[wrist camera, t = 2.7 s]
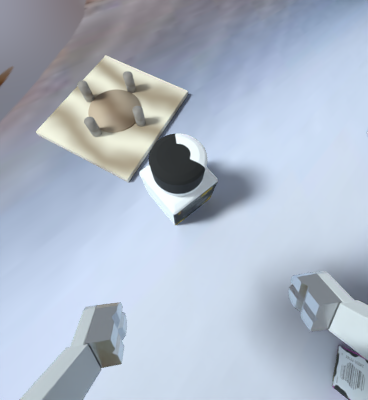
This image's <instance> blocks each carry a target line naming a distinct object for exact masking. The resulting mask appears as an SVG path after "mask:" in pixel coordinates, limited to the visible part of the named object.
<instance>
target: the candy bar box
mask: <svg viewBox="0 0 368 400" xmlns="http://www.w3.org/2000/svg"><path fill="white" fill-rule="evenodd" d="M332 387H333V388H335V389H336V390H337V391H338V392H340V393H341V394H342V395H343V396H345V397H346V398H347V399H348V400H368V360H367V359H365V358H364V357H363V356H361V355H360V354H358V353H355V352H353V351H351V350H349V349H347V348H344V347H342V346H340V345H339V346H338V351H337V359H336V365H335V370H334V375H333V383H332Z"/></svg>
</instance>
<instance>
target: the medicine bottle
mask: <svg viewBox="0 0 368 400" xmlns="http://www.w3.org/2000/svg"><path fill="white" fill-rule="evenodd" d="M206 166H207V153H206V150H205V148H204V147H203V145H202V144H201V143H200V142H199V141H198V140H197V139H195V138H194V137H191V136H189V135H186V134H170V135H167V136H165V137H163V138H161V139H160V140H158V141H157V142H156V143H155V144H154V146H153V147H152V149H151V151H150V154H149V165H148V166H147V167H145V168H144V169H142V170H141V171H140V176H141V178H142V180H143V183H144V185H145V187H146V189H147V191H148V193H149V194H150V196H151V197H152V198H153V199H154V201H155V202H156V203H157V204H158V205H159V207H160V208H161V209H162V210H163V212H164V213H165V214H166V215H167V216H168V218H169V219H170V220H171V221H172V223H173V224H174V225H177V224H179V223H180V222H181V221H182V220H184V219H185V218H186V217H187V216H189V215H190V214H191V213H192V212H194V211H195V210H196V209H197V208H199V207H200V206H201V205H202V204H204V203H205V202H206V201H207V200H209V199H210V197H211V195H212V193H213V191H214V188H215V186H216V184H217V181H218V179H217V177H216V176H215V175H214V174H213V173H212V172H211V171H210V170H209V169H208V168H207V167H206Z"/></svg>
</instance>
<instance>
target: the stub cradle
mask: <svg viewBox="0 0 368 400" xmlns="http://www.w3.org/2000/svg"><path fill="white" fill-rule="evenodd" d="M187 96H188V91H187V90H184V89H182V88H180V87H177V86H175V85H173V84H170V83H168V82H166V81H163V80H161V79H159V78H156V77H154V76H152V75H149V74H147V73H145V72H143V71H140V70H138V69H136V68H133V67H131V66H129V65H126V64H124V63H122V62H119V61H117V60H115V59H112V58H110V57H108V56H105V57H104V58H103V59H102V60H101V61H100V62H99V63H98V64H97V66H96V67H95V68H94V69H93V70H92V71H91V72H90V73H89V74H88V75H87V76H86V78H85V79H84V80H83V81H80V82H78V84H77V87H76V88H75V90H74V91H73V92H72V93H71V94H70V95H69V96H68V97H67V98H66V99H65V100H64V102H63V103H62V104H61V105H60V106H59V107H58V108H57V109H56V110H55V111H54V112H53V114H52V115H51V116H50V117H49V118H48V119H47V120H46V121H45V122H44V123H43V124H42V126H41V127H40V128H39V129H38V130H37V131H36V133H37V134H38V135H39V136H41V137H43V138H45V139H47V140H49V141H50V142H52V143H54V144H56V145H58V146H60V147H62V148H64V149H66V150H68V151H70V152H71V153H73V154H75V155H77V156H79V157H81V158H83V159H85V160H87V161H89V162H91V163H92V164H94V165H96V166H98V167H100V168H102V169H104V170H106V171H108V172H110V173H112V174H114V175H115V176H117V177H119V178H121V179H123V180H125V181H127V182H129V181H130V180H131V178H132V177H133V175H134V174H135V172H136V171H137V169H138V168H139V166H140V165H141V163H142V162H143V161H144V159H145V158H146V156H147V155H148V153H149V152H150V150H151V149H152V147H153V146H154V144H155V143H156V141H157V140H158V138H159V137H160V135H161V134H162V132H163V131H164V130H165V128H166V127H167V125H168V124H169V122H170V121H171V119H172V118H173V116H174V115H175V113H176V112H177V110H178V109H179V107H180V106H181V104H182V103H183V101H184V100H185V98H186V97H187Z"/></svg>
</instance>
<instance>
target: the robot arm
mask: <svg viewBox="0 0 368 400" xmlns="http://www.w3.org/2000/svg"><path fill="white" fill-rule="evenodd" d="M367 135H368V132H367ZM291 282H292V285H291V286H290V287H289V291H288V294H289V298H290V301H291V303H292V305H293V306H294V308H295V309H297V310H298V311H300V312H301V319H302V320H303V322H304V323H305V325H306V326H307V328H308V329H309V331H310V332H313V331H321V330H328V329H329V331H330V332H331V333H333V334H334V335H335V336H337V337H338V338H339V339H340V340H342V341H343V342H344V343H346V344H347V345H348V346H350V347H351V348H352V349H354V350H355V351H356V352H357V353H359V354H360V355H361V356H363V357H364V358H365V359H367V360H368V305H367V304H365V303H363V302H361V301H359V300H354V299H353V298H352V297H351V296H350V295H349V294H348V293H347V292H346V291H345V290H344V289H343V288H342V287H341V286H340V285H339V284H338V283H337V282H336V281H335V280H334V279H333V278H332V277H331V276H330V275H329V274H328V273H327V272H326V271H318V272H310V273H304V274H299V275H293V276H292V277H291ZM122 308H123V306H122V304H121V302H119V303H111V304H103V305H95V306H88V307H86V308H85V309H84V311H83V313H82V316H81V318H80V321H79V324H78V327H77V329H76V332H75V335H74V337H73V340H72V343H71V346H70V347H67V348H66V349H65V350H64V351H63V352H62V353H61V354H60V355H59V356H58V357H57V359H56V360H55V361H54V362H53V363H52V364H51V365H50V366H49V367H48V369H47V370H46V371H45V372H44V373H43V374H42V375H41V376H40V377H39V378H38V380H37V381H36V382H35V383H34V384H33V385H32V386H31V387H30V388H29V390H28V391H27V392H26V393H25V394H24V395H23V396H22V397H21V398H20V400H83V399H84V397H85V395H86V394H87V392H88V390H89V389H90V387H91V386H92V384H93V382H94V381H95V379H96V377H97V376H98V374H99V373H100V371H101V368H104V367H109V366H114V365H119V364H122V358H123V351H124V345H123V342H122V340H123V339H124V337H125V336H126V330H127V320H126V315H125V313H124V312H122Z"/></svg>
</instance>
